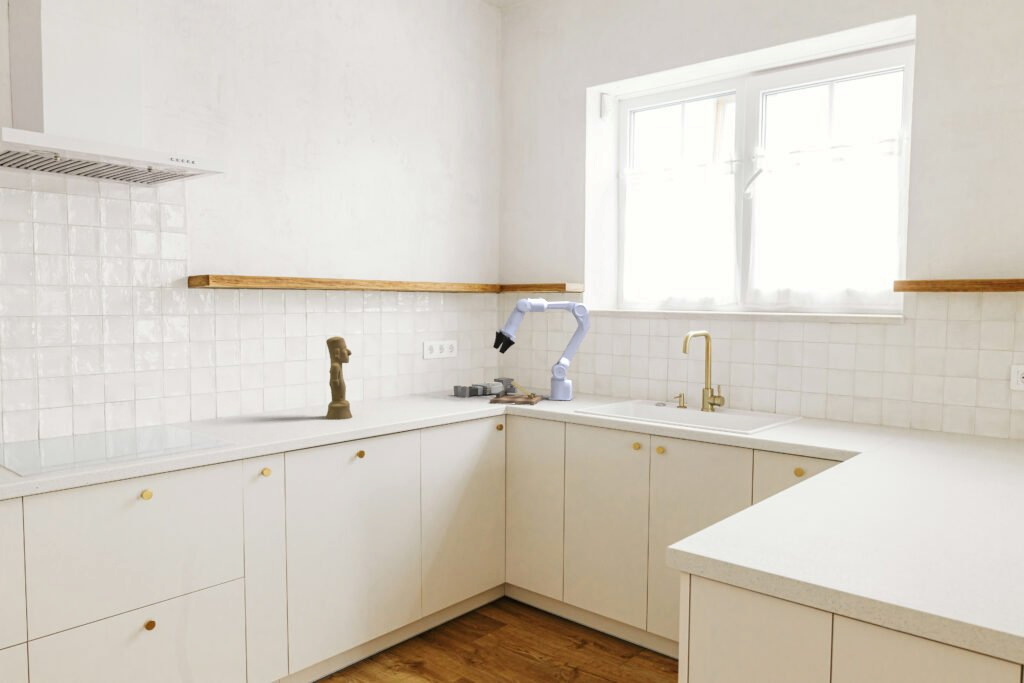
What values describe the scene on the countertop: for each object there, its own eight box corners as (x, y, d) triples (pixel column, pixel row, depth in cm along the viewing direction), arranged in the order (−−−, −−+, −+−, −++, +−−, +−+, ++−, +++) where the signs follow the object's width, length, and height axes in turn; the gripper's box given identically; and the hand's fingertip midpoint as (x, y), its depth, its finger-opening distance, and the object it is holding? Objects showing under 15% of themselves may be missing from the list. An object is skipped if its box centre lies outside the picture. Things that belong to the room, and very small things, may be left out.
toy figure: (451, 383, 339) (501, 376, 359) (452, 397, 340) (501, 390, 360) (467, 385, 331) (517, 378, 350) (467, 400, 331) (517, 393, 351)
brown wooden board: (542, 398, 330) (542, 391, 329) (533, 405, 310) (533, 396, 310) (501, 397, 334) (501, 389, 334) (490, 403, 314) (490, 395, 314)
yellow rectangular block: (533, 398, 322) (534, 396, 322) (531, 398, 319) (532, 397, 319) (512, 382, 324) (513, 380, 323) (510, 383, 321) (511, 381, 321)
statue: (348, 419, 268) (347, 337, 267) (321, 419, 269) (321, 337, 267) (355, 415, 280) (355, 335, 278) (329, 414, 280) (329, 335, 278)
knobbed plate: (517, 392, 331) (517, 384, 331) (515, 393, 327) (515, 385, 327) (507, 391, 332) (508, 384, 332) (505, 392, 328) (505, 385, 328)
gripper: (499, 316, 332) (485, 342, 332) (511, 323, 319) (496, 351, 319) (512, 322, 335) (497, 348, 336) (524, 330, 322) (509, 357, 323)
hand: (498, 350), depth 328 cm, fingers open, 7 cm apart
